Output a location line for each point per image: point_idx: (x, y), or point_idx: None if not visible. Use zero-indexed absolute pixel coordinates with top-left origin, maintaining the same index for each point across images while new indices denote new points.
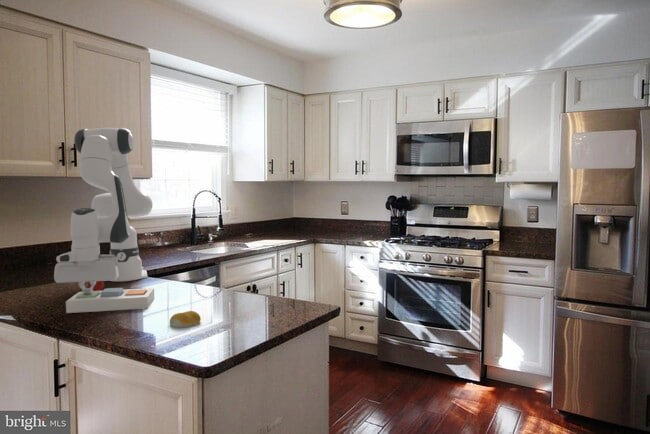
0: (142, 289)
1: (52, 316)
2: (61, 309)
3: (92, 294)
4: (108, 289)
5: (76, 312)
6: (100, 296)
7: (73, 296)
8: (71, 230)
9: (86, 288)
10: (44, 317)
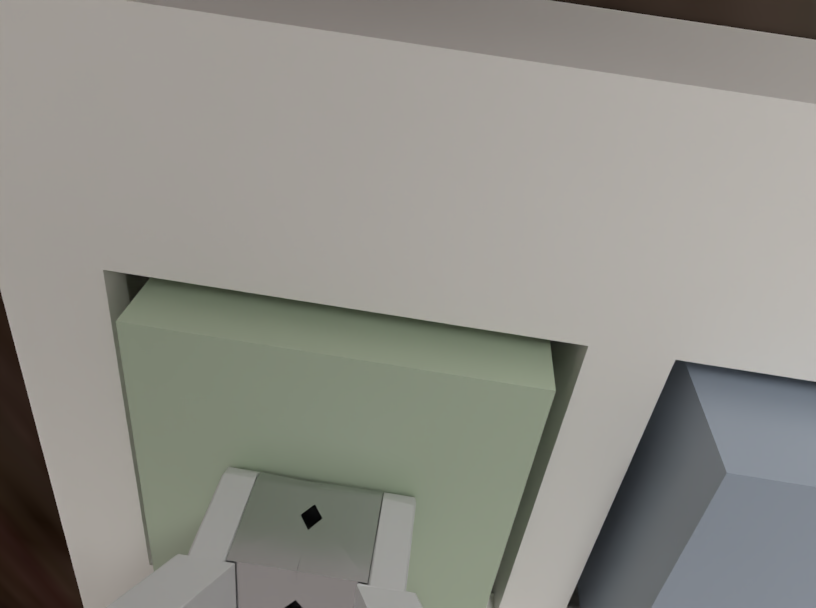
0: None
1: (70, 557)
2: (5, 329)
3: (423, 563)
4: (782, 586)
5: None
6: (572, 588)
7: (56, 440)
8: None
9: (248, 565)
10: (5, 559)
